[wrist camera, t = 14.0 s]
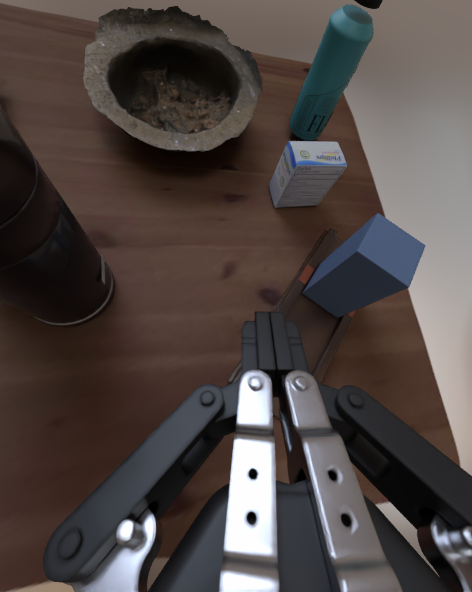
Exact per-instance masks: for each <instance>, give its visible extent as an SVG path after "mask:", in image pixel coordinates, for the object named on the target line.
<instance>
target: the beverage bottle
mask: <svg viewBox="0 0 472 592" xmlns="http://www.w3.org/2000/svg"><path fill="white" fill-rule="evenodd" d="M355 1H356V2H357V3H359V4H360V5H362V6H364V7H367V8H371V9H377V8H379V6H380V4H381V3H382V0H355ZM372 38H373V23H372V18H371V16H370V15H369V14H368V13H367V12H366V11H364V10H363V9H361V8H359V7H357V6H354V5H345V6H343V7H341V8H339V9H338V10H336V11H335V12H334V13H333V14H332V15H331V16H330V19H329V23H328V25H327V28H326V31H325V33H324V35H323V38H322V41H321V43H320V46H319V48H318V51H317V53H316V56H315V58H314V61H313V63H312V66H311V68H310V71H309V73H308V75H307V78H306V80H305V83H304V85H303V88H302V89H301V93H300V94H299V98H298V99H297V100H298V101H297V103H295V105H296V106H294V107H295V108H294V111H293V113H292V114H291V115H292V116H291V118H290V129H291V131H292V132H293V133H294V134H295V135H296V136H298V137H299V138H301V139H304V140H309V141H311V140H315V139H317V138H318V136H319V135H320V134H321V132H322V130H323V128H324V127H326V125H327V124H326V123H328V122H327V121H329V119H330V117H331V115H332V114H333V113H332V112H334V111H333V110H334V108H335V107H336V104H338V101H339V99H340V97H341V95H342V93H343V91H344V89H345V88H346V86H347V85H348V82H349V80H350V78H351V76H352V75H353V73H354V71H355V69H356V68H357V65H358V63H359V61H360V59H361V57H362V55H363V53H364V52H365V50H366V48H367V46H368V44H369V42H370V41H371V40H372Z"/></svg>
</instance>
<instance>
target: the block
mask: <svg viewBox="0 0 472 592" xmlns="http://www.w3.org/2000/svg"><path fill="white" fill-rule="evenodd" d="M424 248H425V245H424V244H423V243H421V242H420V241H418V240H417V239H415V238H414V237H412V236H411V235H409V234H408V233H406V232H405V231H403V230H402V229H400V228H399V227H398V226H396V225H395V224H393V223H392V222H390V221H389V220H388V219H386V218H385V217H383V216H382V215H380V214H379V213H377V214H376V215H375V216H374V217H372V218H371V219H370V220H369V221H368V222H367V223H366V224H365V225H363V226H362V227H361V228H360V229H359V230H358V231H357V232H355V233H354V234H353V235H352V236H351V237H350V238H349V239H348V240H346V241H345V242H344V243H343V244H342V245H341V246H340V247H338V248H337V249H336V250H335V251H334V252H333V253H332V254H331V255H329V256H328V257H327V258H326V259H325V260H324V261H323V262H321V263H320V264H319V266H318V268H317V269H316V271H315V273H314V274H313V276H312V278H311V279H310V281H309V283H308V284H307V286H306V287H305V289H304V291H303V292H302V294H304V295H305V296H307V297H308V298H309V299H311V300H312V301H314V302H315V303H317V304H318V305H319V306H321V307H322V308H324V309H325V310H326V311H328V312H329V313H331V314H332V315H333V316H335V317H336V318H338V317H341V316H343V315H345V314H348V313H350V312H352V311H355V310H357V309H359V308H362V307H364V306H366V305H369V304H371V303H373V302H376V301H378V300H380V299H383V298H385V297H387V296H390V295H392V294H394V293H397V292H399V291H401V290H404V289H406V288H408V287H409V286H410V284H411V281H412V279H413V276H414V274H415V271H416V268H417V266H418V263H419V260H420V258H421V255H422V253H423V250H424Z"/></svg>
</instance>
